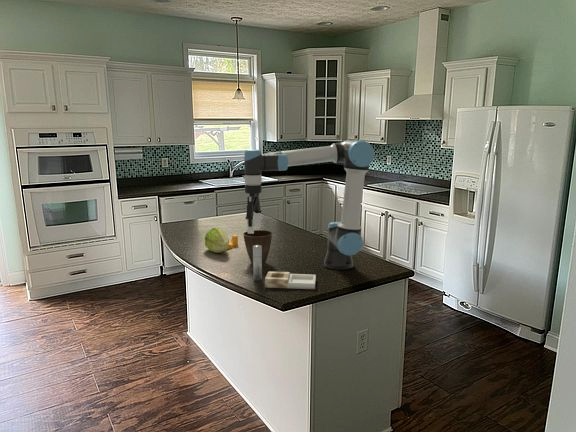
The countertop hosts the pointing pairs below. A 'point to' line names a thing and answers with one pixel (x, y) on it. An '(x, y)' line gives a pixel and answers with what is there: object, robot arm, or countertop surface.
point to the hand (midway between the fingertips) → (253, 230)
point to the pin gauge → (257, 262)
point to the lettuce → (216, 240)
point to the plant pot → (258, 243)
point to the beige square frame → (277, 279)
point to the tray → (302, 281)
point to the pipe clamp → (233, 242)
